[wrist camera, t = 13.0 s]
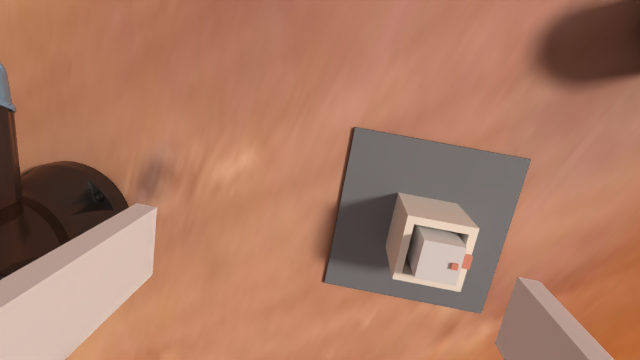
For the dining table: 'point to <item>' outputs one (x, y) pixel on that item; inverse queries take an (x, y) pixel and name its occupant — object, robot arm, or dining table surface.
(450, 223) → the cream square sleeve
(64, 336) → the robot arm
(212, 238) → the dining table surface
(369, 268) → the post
